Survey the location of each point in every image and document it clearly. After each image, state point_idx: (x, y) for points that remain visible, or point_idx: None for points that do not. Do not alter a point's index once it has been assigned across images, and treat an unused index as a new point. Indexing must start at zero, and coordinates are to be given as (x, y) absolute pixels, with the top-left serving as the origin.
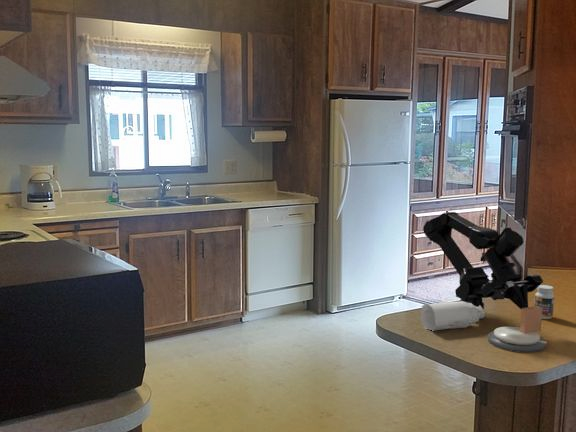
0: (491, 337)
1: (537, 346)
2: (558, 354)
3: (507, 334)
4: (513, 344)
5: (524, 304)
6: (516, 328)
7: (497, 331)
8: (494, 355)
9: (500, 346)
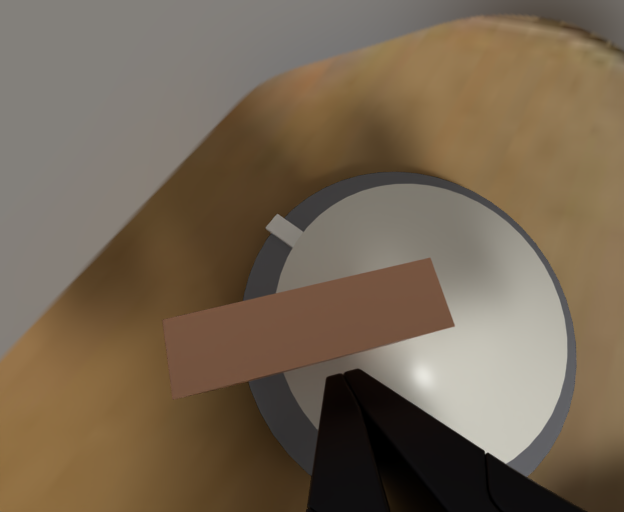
0: None
1: (353, 184)
2: (273, 140)
3: (493, 303)
4: None
5: (389, 403)
6: None
7: (541, 374)
8: (581, 176)
9: None
